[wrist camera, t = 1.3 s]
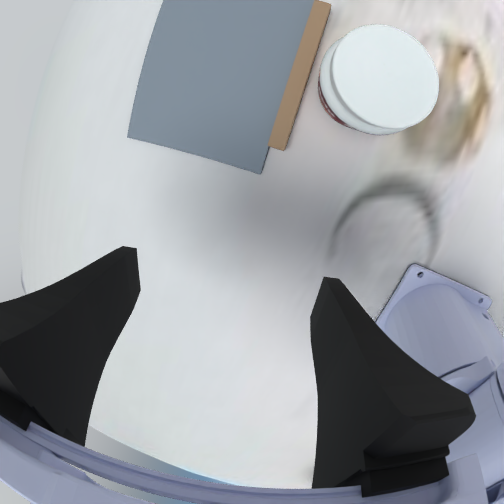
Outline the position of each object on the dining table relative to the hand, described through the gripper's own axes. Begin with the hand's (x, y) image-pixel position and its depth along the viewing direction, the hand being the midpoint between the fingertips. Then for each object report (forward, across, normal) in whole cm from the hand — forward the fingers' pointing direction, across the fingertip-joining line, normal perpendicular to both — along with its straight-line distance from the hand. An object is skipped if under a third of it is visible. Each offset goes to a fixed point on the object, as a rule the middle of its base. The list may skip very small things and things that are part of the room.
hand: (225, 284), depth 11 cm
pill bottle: (+10, -6, -8) cm, 14 cm away
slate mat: (+11, +3, -9) cm, 15 cm away
